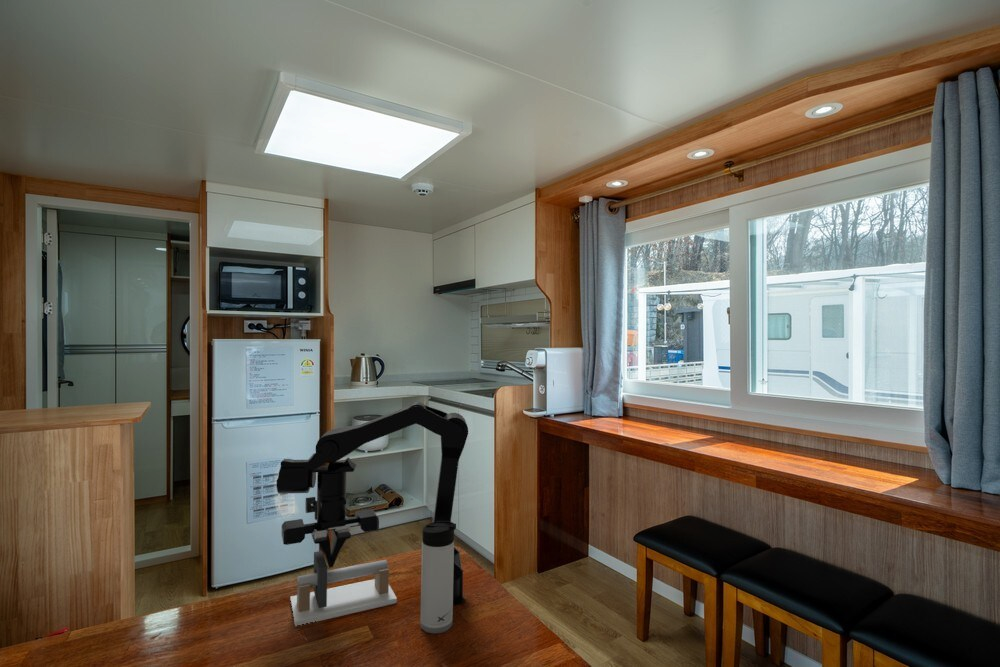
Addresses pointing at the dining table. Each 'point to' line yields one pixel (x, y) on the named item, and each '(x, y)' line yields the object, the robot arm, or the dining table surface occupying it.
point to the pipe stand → (343, 593)
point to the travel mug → (437, 576)
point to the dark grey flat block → (320, 579)
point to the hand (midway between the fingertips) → (330, 566)
